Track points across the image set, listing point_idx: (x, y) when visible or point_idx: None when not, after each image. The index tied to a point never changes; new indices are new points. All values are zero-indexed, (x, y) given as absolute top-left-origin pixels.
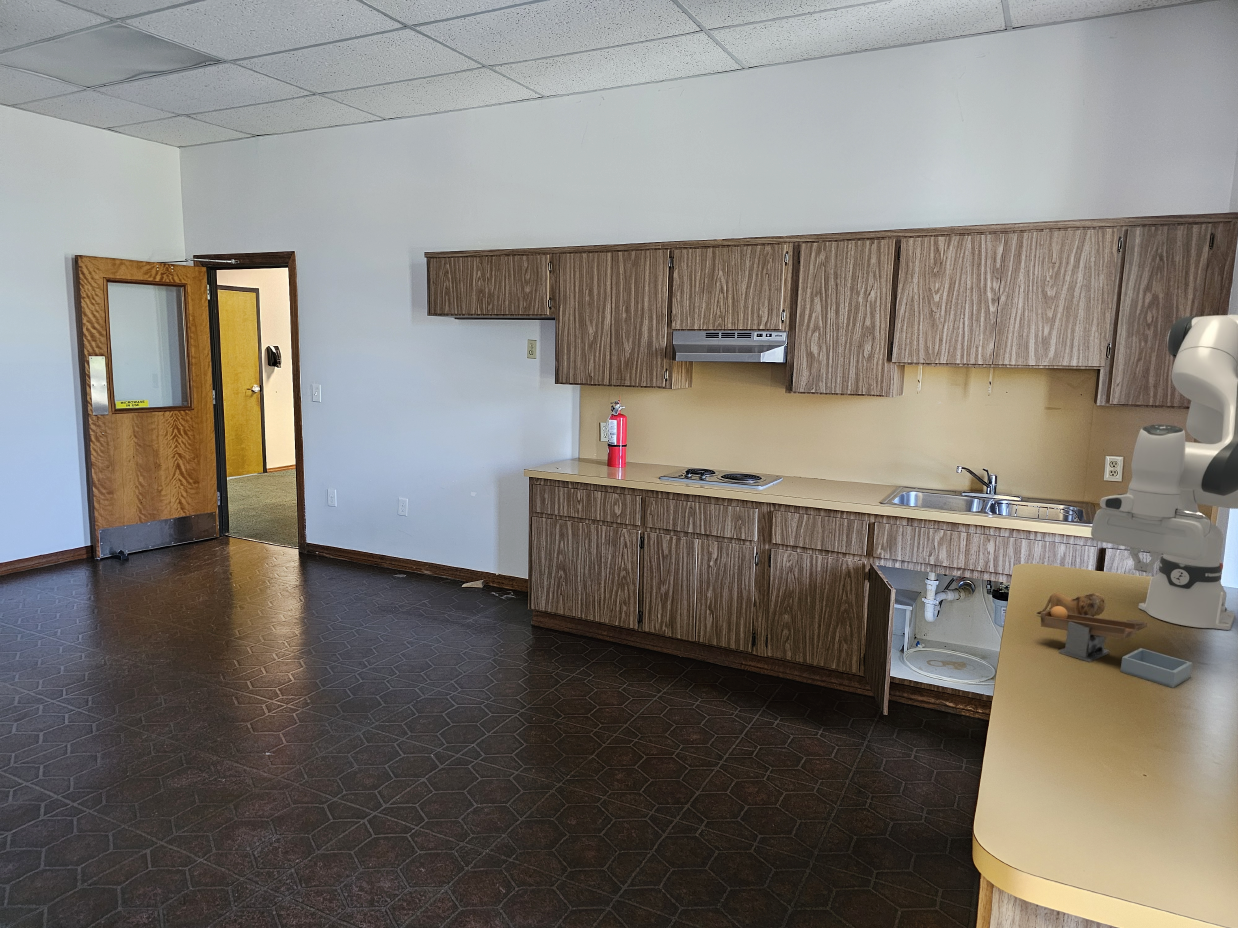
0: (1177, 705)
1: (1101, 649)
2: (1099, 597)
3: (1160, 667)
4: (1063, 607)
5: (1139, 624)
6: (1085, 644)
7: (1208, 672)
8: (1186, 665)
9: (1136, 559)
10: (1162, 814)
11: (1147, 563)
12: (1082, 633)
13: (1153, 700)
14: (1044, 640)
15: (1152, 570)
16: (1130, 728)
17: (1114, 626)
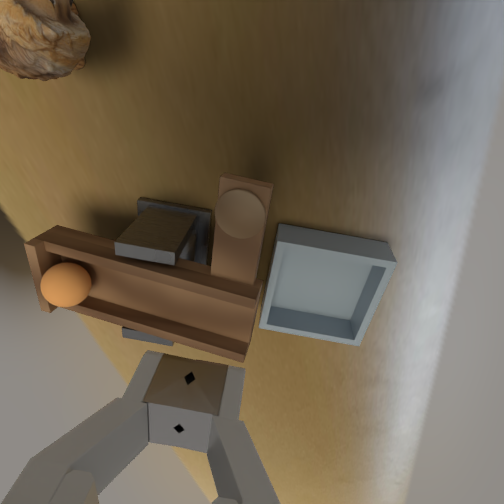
0: (361, 382)
1: (196, 224)
2: (35, 47)
3: (331, 336)
4: None
5: (256, 233)
6: None
7: (434, 169)
8: (382, 291)
9: (129, 461)
10: None
11: (211, 463)
12: None
13: (328, 385)
14: (84, 230)
15: (244, 375)
16: (312, 461)
17: (219, 350)
